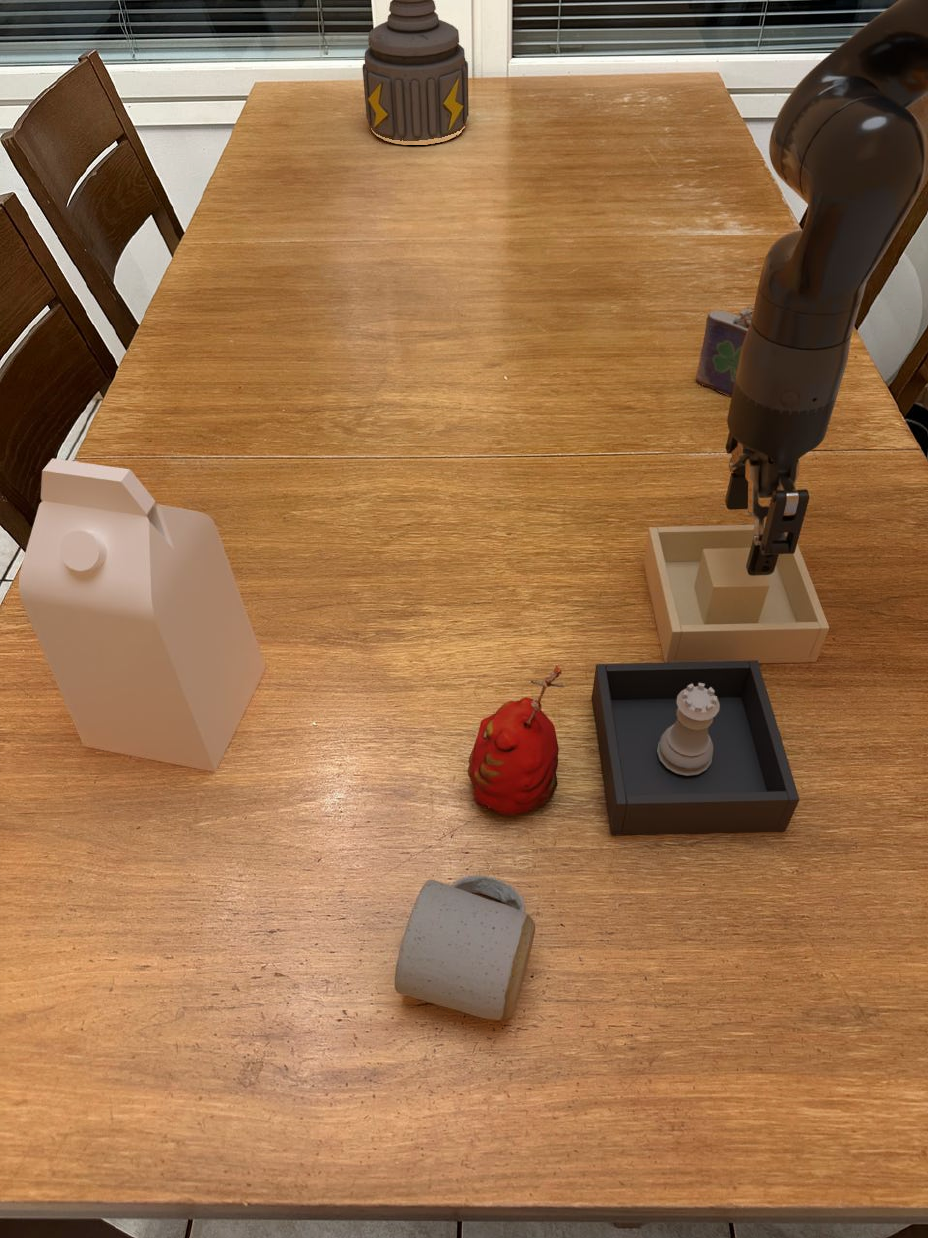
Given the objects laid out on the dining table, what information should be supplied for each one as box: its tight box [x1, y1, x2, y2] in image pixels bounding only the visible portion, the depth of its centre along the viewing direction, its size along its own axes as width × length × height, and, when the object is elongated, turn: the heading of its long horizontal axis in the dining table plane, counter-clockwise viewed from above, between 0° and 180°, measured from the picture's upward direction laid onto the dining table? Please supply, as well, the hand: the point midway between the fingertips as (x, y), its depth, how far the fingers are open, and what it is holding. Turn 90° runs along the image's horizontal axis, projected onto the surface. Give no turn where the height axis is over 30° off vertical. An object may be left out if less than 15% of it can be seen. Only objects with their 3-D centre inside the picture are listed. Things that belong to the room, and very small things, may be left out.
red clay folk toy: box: [467, 665, 564, 816], centre depth 71 cm, size 8×7×15 cm
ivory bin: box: [642, 523, 830, 664], centre depth 88 cm, size 14×14×5 cm
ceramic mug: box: [394, 874, 536, 1021], centre depth 64 cm, size 11×8×8 cm
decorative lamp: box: [361, 0, 470, 141], centre depth 162 cm, size 19×19×30 cm
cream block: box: [694, 548, 770, 625], centre depth 87 cm, size 5×5×5 cm
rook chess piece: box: [657, 683, 720, 776], centre depth 75 cm, size 4×4×8 cm
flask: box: [695, 305, 754, 398], centre depth 110 cm, size 9×3×11 cm, turn 46°
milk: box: [18, 457, 267, 773], centre depth 73 cm, size 12×12×26 cm
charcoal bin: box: [591, 660, 800, 836], centre depth 76 cm, size 14×14×5 cm
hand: (747, 538), depth 83 cm, fingers open, 8 cm apart
